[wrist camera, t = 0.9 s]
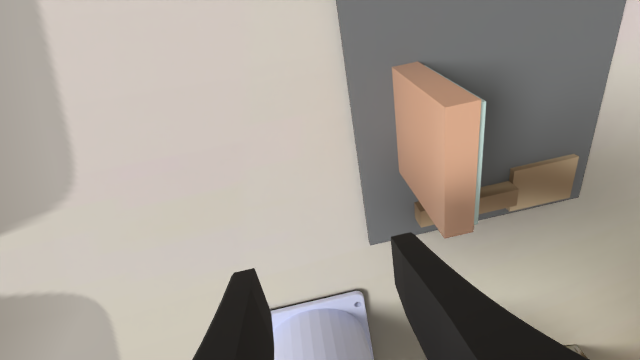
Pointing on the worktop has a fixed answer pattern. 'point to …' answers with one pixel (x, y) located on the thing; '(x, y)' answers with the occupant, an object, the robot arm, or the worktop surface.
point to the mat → (477, 85)
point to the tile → (440, 145)
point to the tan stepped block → (523, 187)
